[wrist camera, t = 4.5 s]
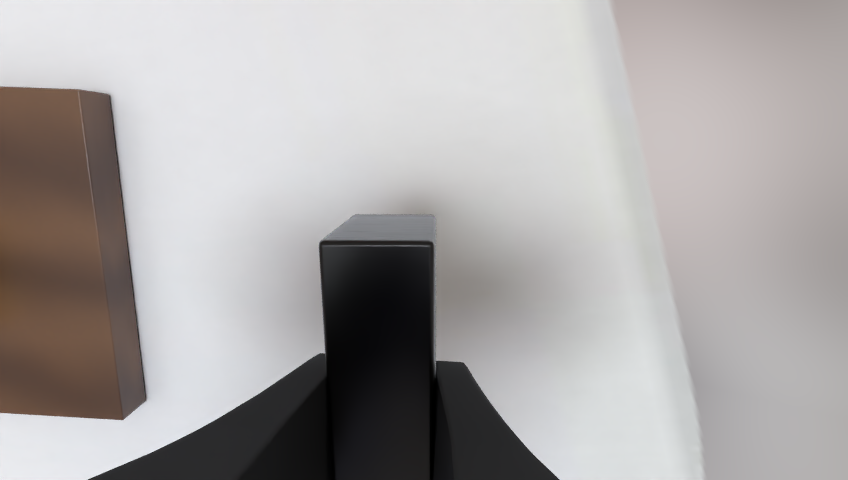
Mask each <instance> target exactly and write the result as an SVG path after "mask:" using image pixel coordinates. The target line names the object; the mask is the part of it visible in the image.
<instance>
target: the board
mask: <svg viewBox="0 0 848 480" xmlns="http://www.w3.org/2000/svg"><path fill="white" fill-rule="evenodd" d="M145 401H146V398H145V389H144V381H143V373H142V364H141V356H140V348H139V339H138V331H137V323H136V314H135V306H134V298H133V289H132V281H131V273H130V264H129V256H128V247H127V239H126V231H125V222H124V214H123V206H122V197H121V189H120V181H119V172H118V164H117V156H116V147H115V139H114V131H113V122H112V114H111V106H110V97H109V95H108V94H103V93H97V92H91V91H85V90H79V89H51V88H23V87H0V413H11V414H28V415H45V416H63V417H80V418H97V419H114V420H124V419H125V418H126V417H127V416H128V415H130V414H131V413H132V412H133V411H134V410H135V409H137V408H138V407H139V406H140V405H141V404H142V403H144V402H145Z"/></svg>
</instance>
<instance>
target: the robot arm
mask: <svg viewBox="0 0 848 480" xmlns="http://www.w3.org/2000/svg"><path fill="white" fill-rule="evenodd" d="M88 480H333V475H332V458H331V441H330V424H329V408H328V391H327V374H326V357H325V354H323V353H320V354H318V355H316V356H315V357H313V358H311V359H310V360H308V361H307V362H305V363H304V364H302V365H301V366H300V367H298V368H297V369H295V370H294V371H292V372H291V373H289V374H288V375H286V376H285V377H283V378H282V379H281V380H279V381H278V382H276V383H275V384H273V385H272V386H270V387H269V388H267V389H266V390H264V391H263V392H261V393H260V394H258V395H256V396H255V397H253V398H251V399H250V400H248V401H246V402H245V403H243V404H241V405H240V406H238V407H236V408H235V409H233V410H232V411H230V412H228V413H227V414H225V415H223V416H222V417H220V418H218V419H217V420H215V421H213V422H211V423H209V424H208V425H206V426H204V427H202V428H200V429H198V430H196V431H194V432H193V433H191V434H189V435H187V436H185V437H183V438H181V439H179V440H177V441H175V442H173V443H171V444H168V445H166V446H164V447H162V448H160V449H158V450H156V451H154V452H152V453H150V454H147V455H145V456H143V457H140V458H138V459H135V460H133V461H131V462H128V463H126V464H124V465H121V466H119V467H117V468H114V469H112V470H109V471H107V472H105V473H102V474H100V475H98V476H95V477H93V478H91V479H88ZM433 480H559V479H558V478H557V477H556V476H555V475H554V474H553V473H552V472H551V471H550V470H549V469H548V468H547V467H546V466H545V465H544V464H543V463H541V462H540V461H539V460H538V459H537V458H536V457H535V456H534V455H533V454H532V453H531V452H530V451H529V449H528V448H527V447H526V446H525V445H524V444H523V443H522V442H521V440H520V439H519V438H518V437H517V436H516V435H515V434H514V432H513V431H512V430H511V429H510V428H509V426H508V425H507V424H506V423H505V421H504V420H503V419H502V418H501V416H500V415H499V414H498V412H497V411H496V410H495V408H494V407H493V406H492V404H491V403H490V402H489V400H488V399H487V397H486V396H485V395H484V393H483V392H482V390H481V389H480V387H479V386H478V384H477V383H476V381H475V379H474V378H473V376H472V374H471V373H470V371H469V369H468V368H467V366H466V365H465V364H464V363H463V362H449V361H436V373H435V414H434V471H433Z"/></svg>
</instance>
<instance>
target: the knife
mask: <svg viewBox="0 0 848 480" xmlns="http://www.w3.org/2000/svg"><path fill="white" fill-rule="evenodd" d="M319 257H320V273H321V290H322V307H323V324H324V341H325V357H326V374H327V391H328V408H329V424H330V441H331V458H332V475H333V480H433V471H434V414H435V373H436V217H435V216H434V215H376V214H356V215H354V216H352V217H351V218H350V219H348V220H347V221H346V222H344V223H343V224H342V225H341V226H339V227H338V228H337V229H335V230H334V231H333V232H332V233H330V234H329V235H328V236H326V237H325V238H324V239H323V240H321V241H320V243H319Z"/></svg>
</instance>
